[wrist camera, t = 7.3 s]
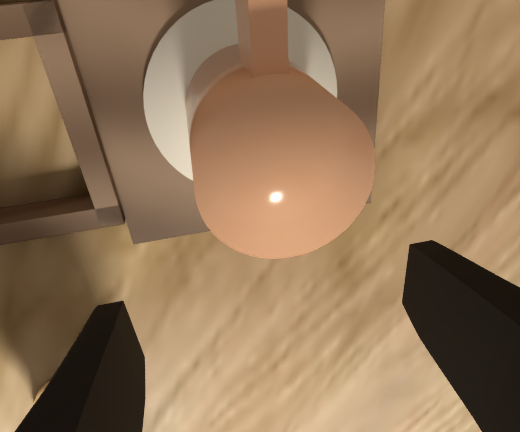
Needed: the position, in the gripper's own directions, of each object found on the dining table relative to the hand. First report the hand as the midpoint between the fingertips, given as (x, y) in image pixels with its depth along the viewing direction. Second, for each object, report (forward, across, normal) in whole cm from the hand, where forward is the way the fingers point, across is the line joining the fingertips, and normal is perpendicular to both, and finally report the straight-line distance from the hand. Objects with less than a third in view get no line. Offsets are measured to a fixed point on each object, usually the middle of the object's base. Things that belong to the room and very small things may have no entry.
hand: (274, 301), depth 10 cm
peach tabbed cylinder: (+9, -1, -2) cm, 9 cm away
